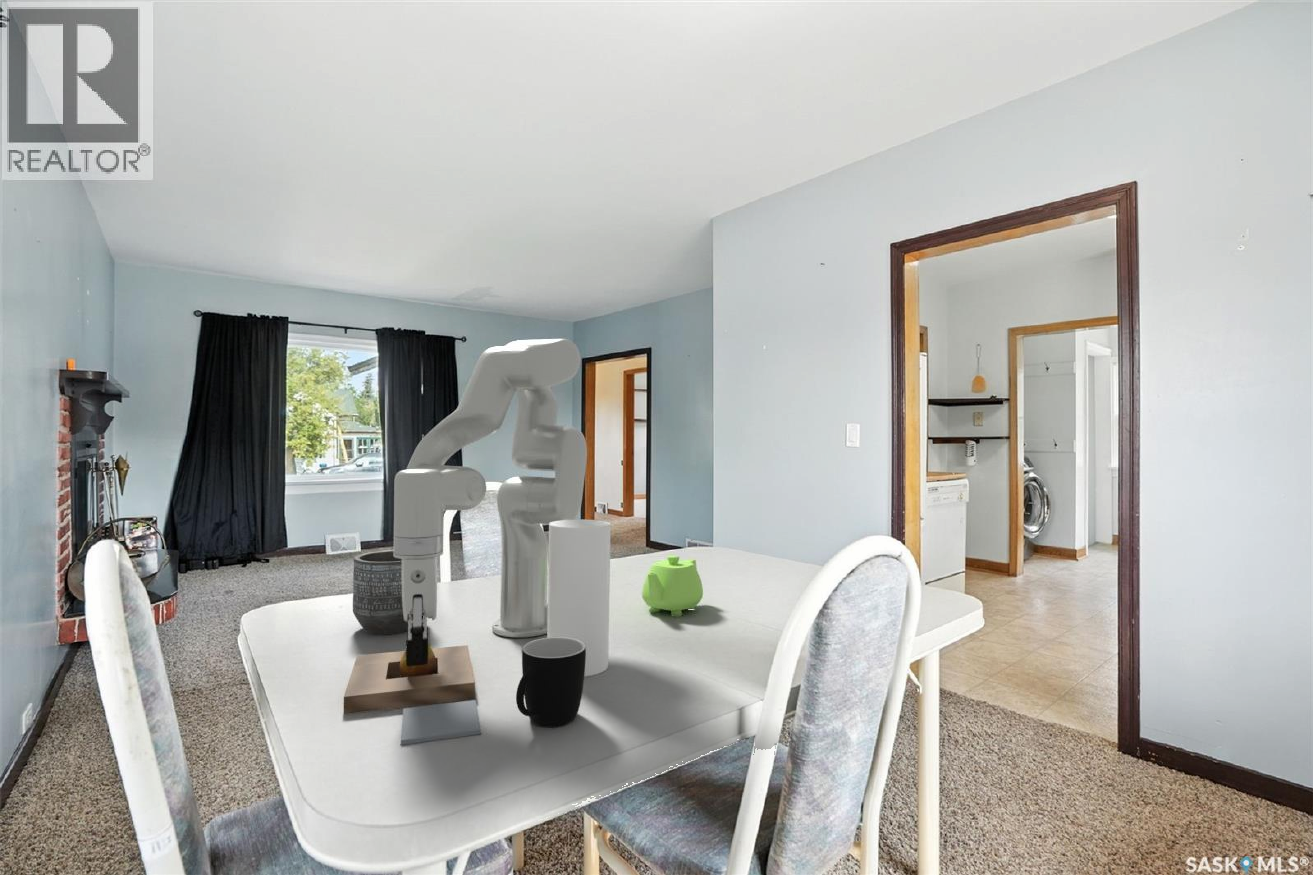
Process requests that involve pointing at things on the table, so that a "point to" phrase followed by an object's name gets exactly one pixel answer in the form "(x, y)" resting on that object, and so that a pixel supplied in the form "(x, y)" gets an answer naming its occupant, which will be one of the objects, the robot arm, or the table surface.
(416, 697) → the block with square hole
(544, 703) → the mug
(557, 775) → the table surface
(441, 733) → the coaster
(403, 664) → the fruit
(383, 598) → the planter
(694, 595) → the teapot
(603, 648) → the tall pillar cylinder
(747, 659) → the table surface
